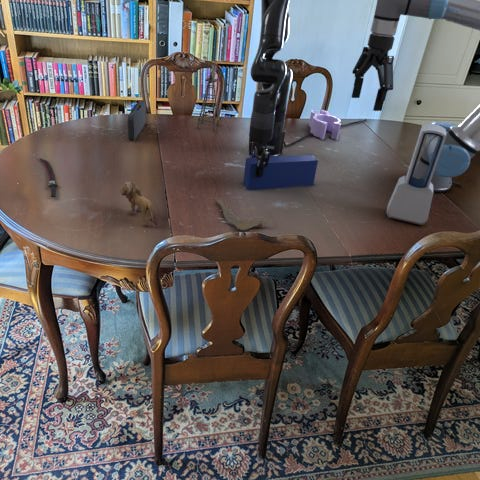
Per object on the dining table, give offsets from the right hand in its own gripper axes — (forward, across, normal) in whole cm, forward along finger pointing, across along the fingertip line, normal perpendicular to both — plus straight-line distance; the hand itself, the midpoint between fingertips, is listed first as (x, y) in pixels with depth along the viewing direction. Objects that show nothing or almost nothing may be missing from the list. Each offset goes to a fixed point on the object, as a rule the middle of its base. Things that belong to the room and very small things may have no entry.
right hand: (365, 103), depth 154 cm
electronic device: (+29, -27, -6) cm, 40 cm away
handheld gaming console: (+29, +57, +67) cm, 93 cm away
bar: (+29, +3, +26) cm, 39 cm away
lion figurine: (+29, -12, +76) cm, 82 cm away
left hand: (+24, +3, +35) cm, 43 cm away
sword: (+29, +18, +101) cm, 107 cm away
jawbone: (+29, -16, +46) cm, 57 cm away
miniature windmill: (+29, +61, +36) cm, 76 cm away
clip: (+29, +50, -16) cm, 60 cm away
